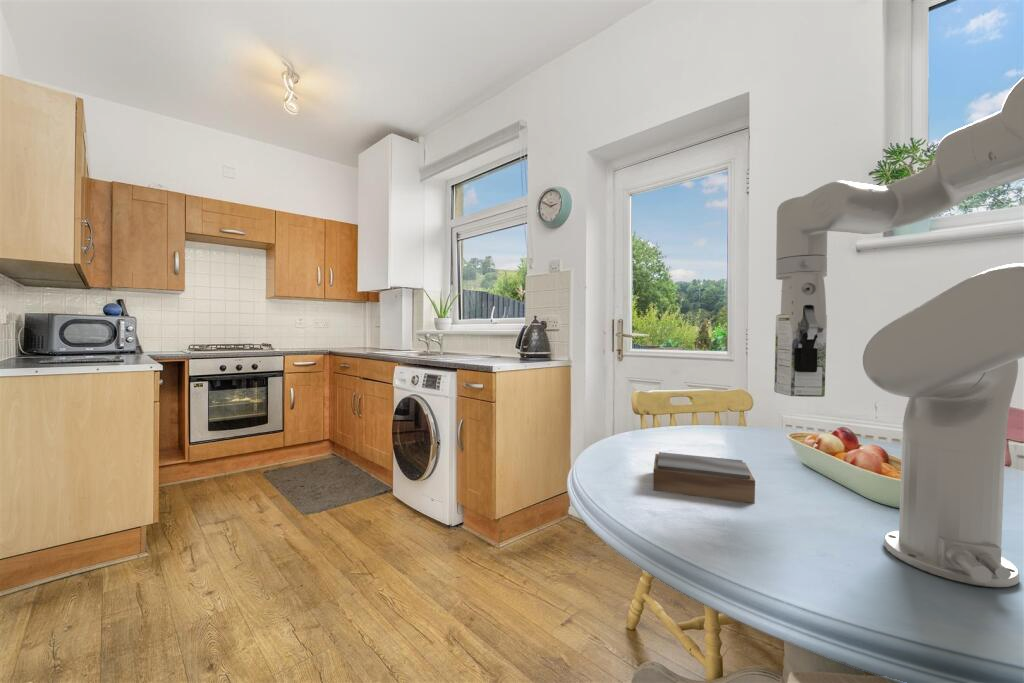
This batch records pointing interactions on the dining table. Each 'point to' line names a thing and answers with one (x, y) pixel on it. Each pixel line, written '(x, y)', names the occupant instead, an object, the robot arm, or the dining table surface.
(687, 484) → the block
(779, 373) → the syrup box
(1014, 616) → the dining table surface
